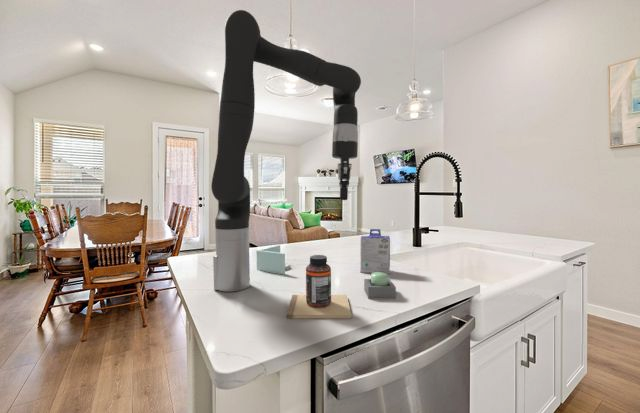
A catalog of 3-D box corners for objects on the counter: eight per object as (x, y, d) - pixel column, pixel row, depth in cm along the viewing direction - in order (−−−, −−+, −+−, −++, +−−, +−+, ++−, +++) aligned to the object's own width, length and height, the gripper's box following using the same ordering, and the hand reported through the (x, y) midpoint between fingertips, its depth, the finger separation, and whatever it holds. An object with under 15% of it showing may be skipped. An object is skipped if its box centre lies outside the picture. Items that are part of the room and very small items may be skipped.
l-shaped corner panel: (283, 276, 96) (283, 253, 96) (256, 271, 102) (256, 250, 102) (303, 268, 106) (303, 247, 106) (278, 264, 112) (278, 244, 112)
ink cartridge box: (389, 270, 101) (389, 229, 100) (390, 274, 95) (390, 231, 95) (361, 268, 103) (361, 228, 102) (360, 273, 97) (360, 230, 97)
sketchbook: (286, 318, 62) (286, 314, 62) (292, 298, 74) (292, 294, 74) (351, 318, 62) (351, 314, 62) (346, 297, 74) (346, 294, 74)
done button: (372, 290, 75) (372, 276, 75) (369, 284, 79) (369, 272, 79) (389, 290, 75) (389, 276, 75) (385, 284, 79) (385, 272, 79)
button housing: (368, 298, 74) (368, 287, 74) (364, 289, 81) (364, 278, 81) (395, 298, 74) (395, 287, 73) (389, 289, 81) (389, 278, 80)
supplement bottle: (305, 299, 71) (305, 254, 71) (329, 298, 72) (329, 253, 71) (306, 308, 65) (306, 259, 65) (332, 307, 66) (332, 258, 65)
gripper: (332, 145, 92) (330, 199, 93) (332, 137, 79) (331, 200, 80) (355, 145, 92) (354, 199, 93) (360, 137, 79) (358, 200, 80)
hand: (343, 199), depth 86 cm, fingers closed
